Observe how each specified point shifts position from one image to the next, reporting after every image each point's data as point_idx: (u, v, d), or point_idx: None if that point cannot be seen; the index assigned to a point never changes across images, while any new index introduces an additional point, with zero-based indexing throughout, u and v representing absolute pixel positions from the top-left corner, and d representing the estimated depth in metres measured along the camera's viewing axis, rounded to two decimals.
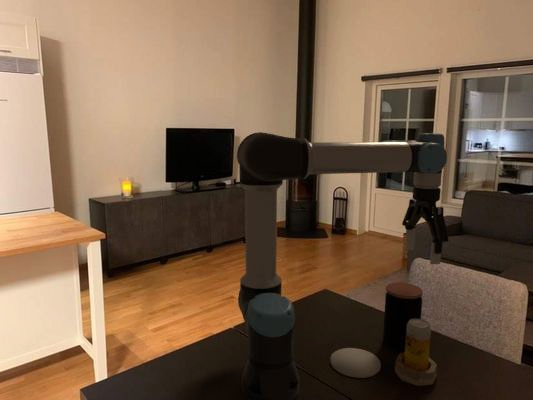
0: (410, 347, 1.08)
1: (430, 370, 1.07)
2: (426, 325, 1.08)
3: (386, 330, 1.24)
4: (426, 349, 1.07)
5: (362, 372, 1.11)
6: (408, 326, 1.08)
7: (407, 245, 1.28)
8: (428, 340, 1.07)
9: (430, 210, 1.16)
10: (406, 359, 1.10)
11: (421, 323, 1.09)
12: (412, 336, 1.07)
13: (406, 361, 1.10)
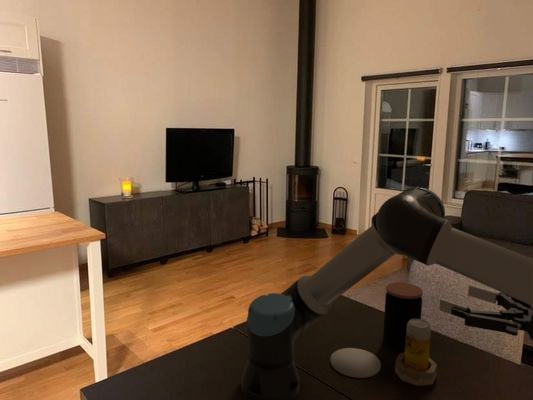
0: (410, 347, 1.08)
1: (430, 370, 1.07)
2: (426, 325, 1.08)
3: (386, 330, 1.24)
4: (426, 349, 1.07)
5: (362, 372, 1.11)
6: (408, 326, 1.08)
7: (474, 288, 1.02)
8: (428, 340, 1.07)
9: (515, 320, 0.85)
10: (406, 359, 1.10)
11: (421, 323, 1.09)
12: (412, 336, 1.07)
13: (406, 361, 1.10)
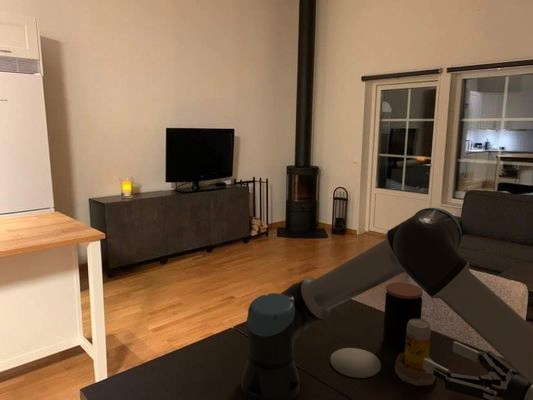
0: (410, 347, 1.08)
1: None
2: (426, 325, 1.08)
3: (386, 330, 1.24)
4: (426, 349, 1.07)
5: (362, 372, 1.11)
6: (408, 326, 1.08)
7: (458, 345, 1.07)
8: (428, 340, 1.07)
9: (492, 387, 0.90)
10: (406, 359, 1.10)
11: (421, 323, 1.09)
12: (412, 336, 1.07)
13: (406, 361, 1.10)
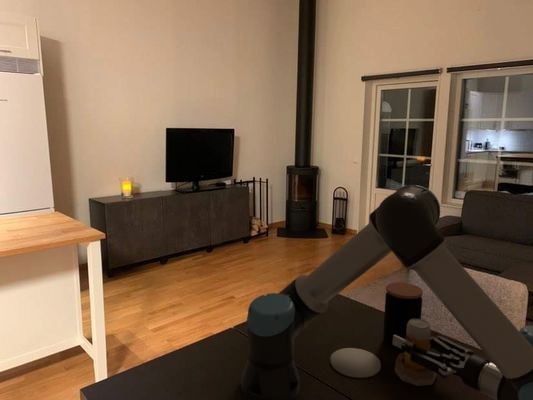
0: None
1: (430, 370, 1.07)
2: (426, 325, 1.08)
3: (386, 330, 1.24)
4: (426, 349, 1.07)
5: (362, 372, 1.11)
6: (408, 326, 1.08)
7: None
8: (428, 340, 1.07)
9: (450, 365, 0.98)
10: (406, 359, 1.10)
11: (421, 323, 1.09)
12: (412, 336, 1.07)
13: (406, 361, 1.10)
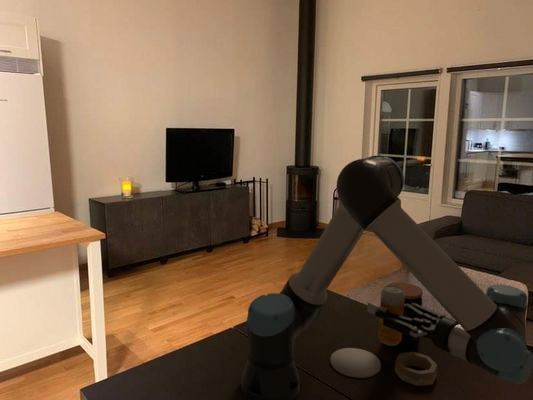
0: None
1: (430, 370, 1.07)
2: (400, 291, 1.08)
3: None
4: (400, 314, 1.07)
5: (362, 372, 1.11)
6: (382, 292, 1.09)
7: None
8: (402, 306, 1.07)
9: (422, 328, 0.98)
10: (380, 325, 1.10)
11: (395, 289, 1.09)
12: (386, 302, 1.07)
13: (380, 327, 1.10)
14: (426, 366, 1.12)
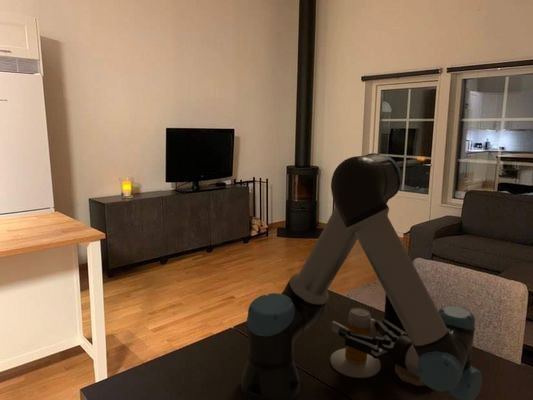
0: None
1: None
2: (366, 314, 1.12)
3: None
4: None
5: (362, 372, 1.11)
6: (349, 314, 1.13)
7: None
8: (367, 328, 1.12)
9: (382, 346, 1.03)
10: (347, 346, 1.14)
11: (362, 312, 1.13)
12: (352, 323, 1.12)
13: (347, 348, 1.14)
14: None
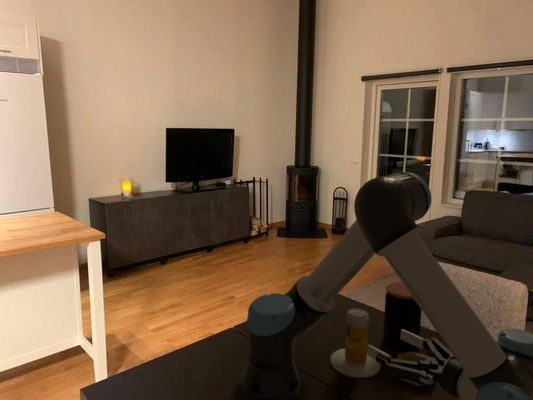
0: (348, 335, 1.13)
1: None
2: (364, 314, 1.12)
3: (386, 330, 1.24)
4: (364, 336, 1.12)
5: (362, 372, 1.11)
6: (347, 315, 1.13)
7: (405, 332, 1.09)
8: (365, 328, 1.12)
9: (429, 371, 0.92)
10: (346, 347, 1.14)
11: (360, 312, 1.13)
12: (350, 324, 1.12)
13: (346, 349, 1.14)
14: None
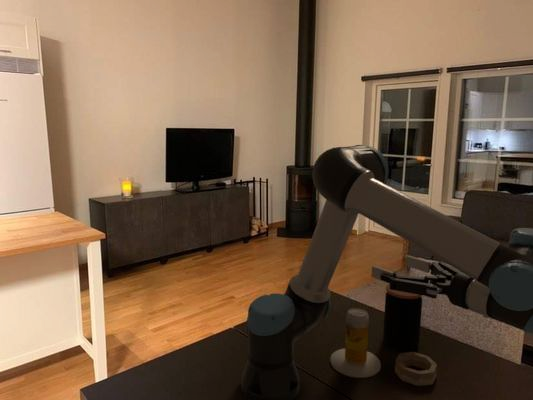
0: (348, 335, 1.13)
1: (430, 370, 1.07)
2: (364, 314, 1.12)
3: (386, 330, 1.24)
4: (364, 336, 1.12)
5: (362, 372, 1.11)
6: (347, 315, 1.13)
7: (411, 258, 1.05)
8: (365, 328, 1.12)
9: (436, 284, 0.88)
10: (346, 347, 1.14)
11: (360, 312, 1.13)
12: (350, 324, 1.12)
13: (346, 349, 1.14)
14: (426, 366, 1.12)
